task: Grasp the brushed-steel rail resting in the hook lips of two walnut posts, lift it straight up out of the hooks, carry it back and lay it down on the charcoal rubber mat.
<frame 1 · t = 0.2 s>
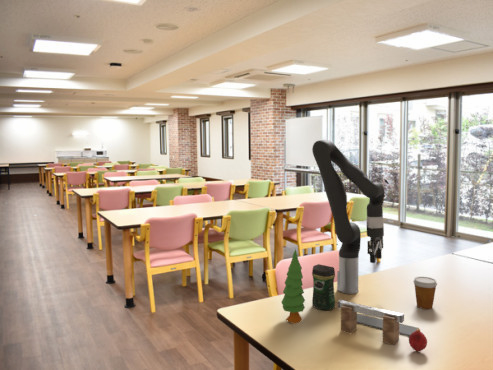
hand: (375, 260, 190), 17 cm above the table, tool pointing down, fingers open, 8 cm apart
mat: (379, 324, 162), on the table
coffee jar: (323, 307, 181), on the table
onion: (417, 352, 140), on the table
post 1: (348, 329, 158), on the table
decorative tree: (292, 320, 167), on the table
disposable coffee cup: (424, 306, 179), on the table
rail: (369, 314, 153), point 8 cm above the table, touching post 2, post 1
post 2: (390, 340, 149), on the table
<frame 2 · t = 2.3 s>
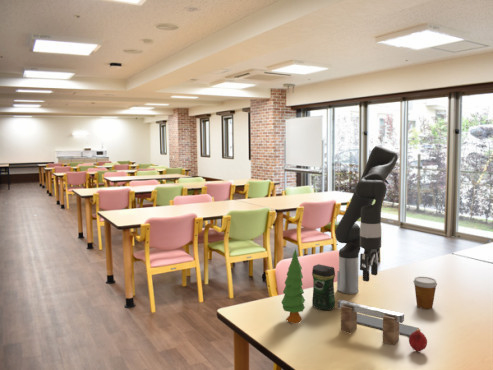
hand: (370, 277, 151), 22 cm above the table, tool pointing down, fingers open, 8 cm apart
nothing on the table moved.
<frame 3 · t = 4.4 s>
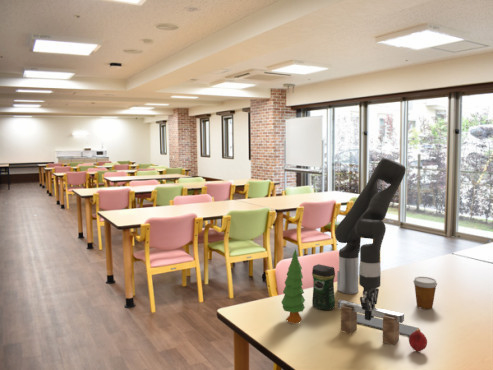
hand: (369, 318, 153), 6 cm above the table, tool pointing down, fingers closed on rail, 2 cm apart
rail: (369, 314, 153), point 8 cm above the table, touching gripper, post 2, post 1
everything else where it was.
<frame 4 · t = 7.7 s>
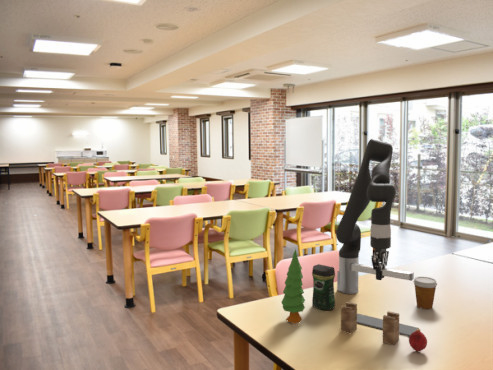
hand: (380, 278, 161), 19 cm above the table, tool pointing down, fingers closed on rail, 2 cm apart
rail: (380, 274, 160), point 20 cm above the table, touching gripper
everything else where it was.
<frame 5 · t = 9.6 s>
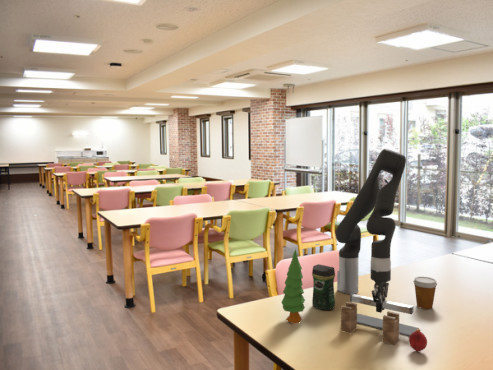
hand: (380, 310, 162), 6 cm above the table, tool pointing down, fingers closed on rail, 2 cm apart
rail: (380, 306, 161), point 7 cm above the table, touching gripper
everything else where it was.
when the fingers open (2 cm above the table, at t = 11.2 s): rail drops 3 cm, resting on mat.
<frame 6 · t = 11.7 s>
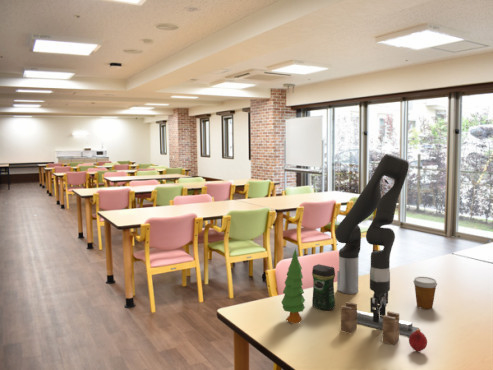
hand: (379, 318, 162), 2 cm above the table, tool pointing down, fingers open, 7 cm apart
rail: (379, 322, 162), point 1 cm above the table, touching mat
everything else where it was.
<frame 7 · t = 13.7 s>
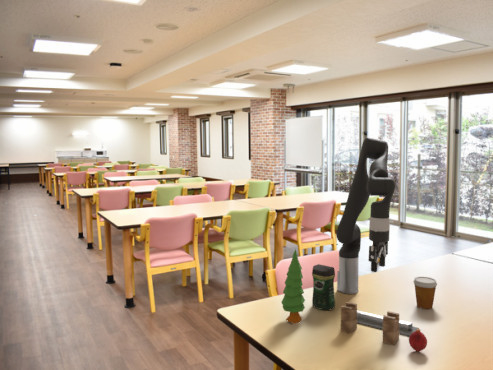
hand: (378, 268, 162), 22 cm above the table, tool pointing down, fingers open, 8 cm apart
nothing on the table moved.
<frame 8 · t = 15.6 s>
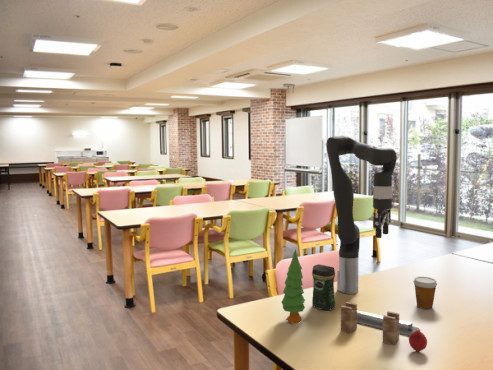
hand: (382, 235, 170), 33 cm above the table, tool pointing down, fingers open, 8 cm apart
nothing on the table moved.
at the end: rail inside the target area on the mat (0.3 cm from its centre), point 0.6 cm above the mat's base; rail point 0.6 cm above the table; the gripper is holding nothing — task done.
